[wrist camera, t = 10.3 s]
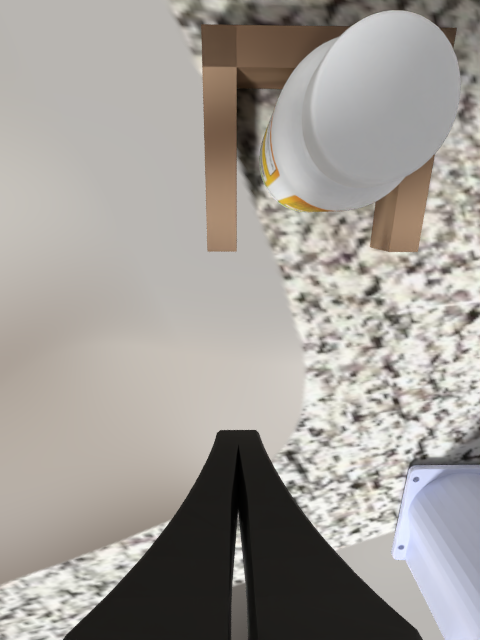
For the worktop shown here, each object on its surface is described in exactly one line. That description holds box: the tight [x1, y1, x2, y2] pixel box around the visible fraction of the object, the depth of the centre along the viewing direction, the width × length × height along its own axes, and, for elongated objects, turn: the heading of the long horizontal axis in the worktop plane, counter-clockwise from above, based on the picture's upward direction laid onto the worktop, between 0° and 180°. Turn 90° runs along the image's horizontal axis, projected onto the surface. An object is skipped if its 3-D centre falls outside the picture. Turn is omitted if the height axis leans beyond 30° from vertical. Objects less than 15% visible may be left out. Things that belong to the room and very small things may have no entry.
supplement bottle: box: [259, 10, 461, 212], centre depth 13 cm, size 5×5×10 cm
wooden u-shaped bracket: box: [201, 24, 457, 252], centre depth 16 cm, size 10×11×2 cm
